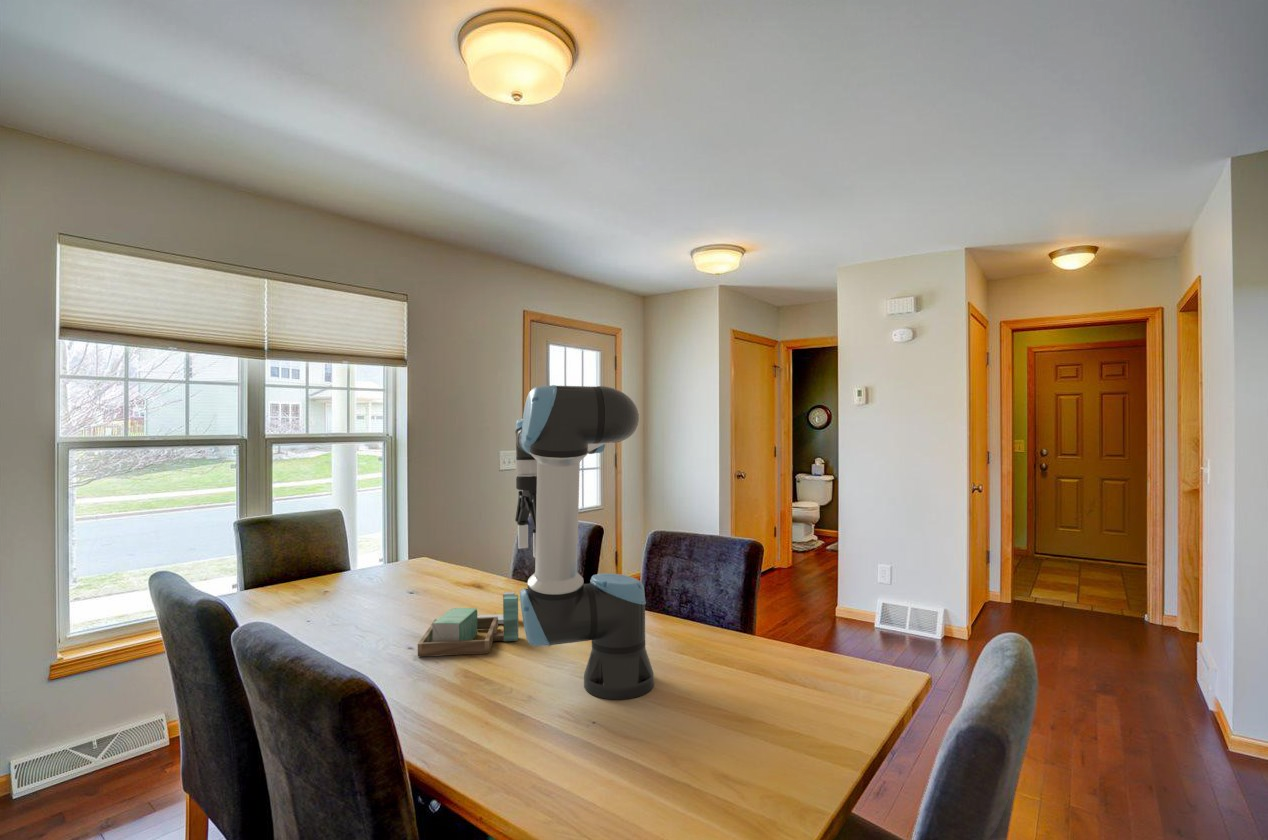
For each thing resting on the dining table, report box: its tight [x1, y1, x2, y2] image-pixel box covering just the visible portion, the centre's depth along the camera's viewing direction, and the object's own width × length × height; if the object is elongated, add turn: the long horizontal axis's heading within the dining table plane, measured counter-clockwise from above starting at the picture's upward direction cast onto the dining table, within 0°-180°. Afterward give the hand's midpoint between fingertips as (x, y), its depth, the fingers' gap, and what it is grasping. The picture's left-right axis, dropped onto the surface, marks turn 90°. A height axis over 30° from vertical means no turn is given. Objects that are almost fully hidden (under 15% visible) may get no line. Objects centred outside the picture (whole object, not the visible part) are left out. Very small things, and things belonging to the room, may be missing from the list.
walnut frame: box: [417, 594, 519, 657], centre depth 159 cm, size 19×23×11 cm
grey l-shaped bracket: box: [477, 590, 516, 625], centre depth 173 cm, size 5×21×8 cm, turn 96°
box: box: [431, 607, 478, 642], centre depth 158 cm, size 7×14×8 cm, turn 176°
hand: (530, 552), depth 167 cm, fingers open, 13 cm apart
